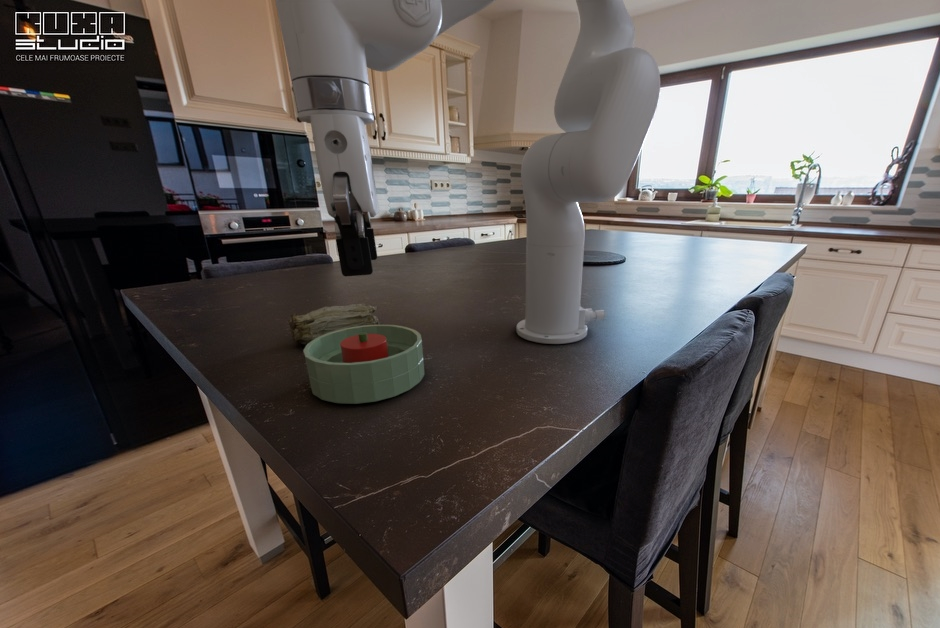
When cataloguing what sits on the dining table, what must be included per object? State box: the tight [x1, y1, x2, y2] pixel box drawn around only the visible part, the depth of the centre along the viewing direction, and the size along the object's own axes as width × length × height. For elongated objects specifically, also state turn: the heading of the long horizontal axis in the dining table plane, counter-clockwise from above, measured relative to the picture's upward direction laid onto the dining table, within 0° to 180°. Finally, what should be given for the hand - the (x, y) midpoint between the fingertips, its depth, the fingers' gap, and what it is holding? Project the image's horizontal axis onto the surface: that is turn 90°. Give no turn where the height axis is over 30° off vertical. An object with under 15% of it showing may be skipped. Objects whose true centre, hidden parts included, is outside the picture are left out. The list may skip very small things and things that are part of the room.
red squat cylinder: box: [340, 332, 388, 363], centre depth 51 cm, size 6×6×6 cm
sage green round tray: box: [302, 324, 426, 405], centre depth 52 cm, size 14×14×6 cm
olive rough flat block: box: [288, 302, 381, 346], centre depth 67 cm, size 14×10×5 cm, turn 129°
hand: (361, 266), depth 48 cm, fingers open, 9 cm apart
